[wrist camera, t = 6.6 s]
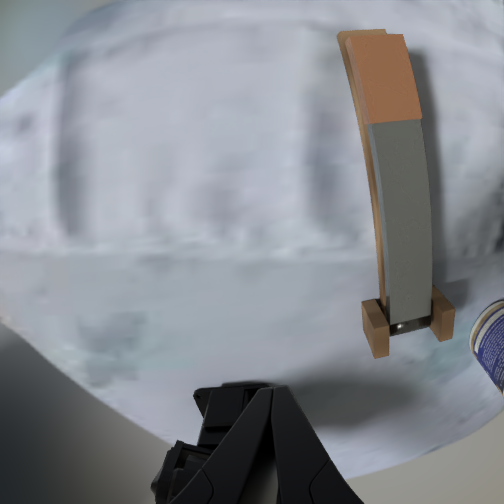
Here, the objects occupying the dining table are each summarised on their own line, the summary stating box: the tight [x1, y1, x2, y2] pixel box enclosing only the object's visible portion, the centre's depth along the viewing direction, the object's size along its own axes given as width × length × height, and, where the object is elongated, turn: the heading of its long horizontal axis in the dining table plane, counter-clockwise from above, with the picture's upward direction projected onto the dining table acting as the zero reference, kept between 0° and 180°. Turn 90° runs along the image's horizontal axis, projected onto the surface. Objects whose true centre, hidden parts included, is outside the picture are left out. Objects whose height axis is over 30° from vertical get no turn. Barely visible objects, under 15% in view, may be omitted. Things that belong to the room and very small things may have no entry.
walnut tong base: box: [337, 29, 455, 359], centre depth 17 cm, size 20×6×4 cm, turn 12°
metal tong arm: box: [345, 34, 432, 337], centre depth 17 cm, size 19×3×1 cm, turn 13°
